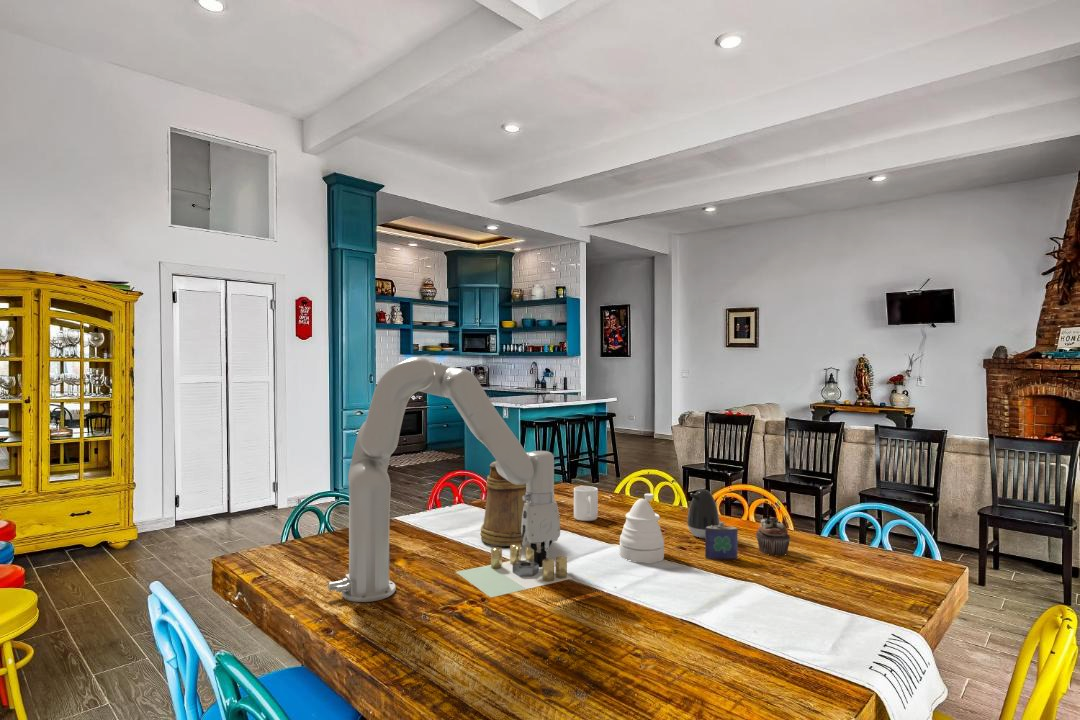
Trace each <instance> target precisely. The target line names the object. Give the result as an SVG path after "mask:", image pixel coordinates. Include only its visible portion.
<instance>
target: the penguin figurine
mask: <svg viewBox="0 0 1080 720" xmlns="http://www.w3.org/2000/svg"><path fill="white" fill-rule="evenodd" d="M689 496H690V497H692V500H691V502H690V504H689V508H688V513H687V521H686V522H687V523H686V524H687V526H688V531H690V533H691V534H692V535H693V536H694V537H697V538H698V537H699V538H698V539H705V528H706V527H708V526H711V525H712V526H714V525H715V526H714V527H716V526H718V525H720V522H721V521H720V516H719V514H720V513H719V510H718V506H717V504H716V503H717V502H716V501H715V499H714V496H713V494H712V493H711V492H710V491H709V490H708V489H705V488H704V489H698V490H697V491H696V492H695V493H693V492H691V493H689Z"/></svg>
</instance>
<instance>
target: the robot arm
mask: <svg viewBox="0 0 1080 720" xmlns="http://www.w3.org/2000/svg"><path fill="white" fill-rule="evenodd" d="M418 392H420V393H424V394H428V395H433V396H437V397H441V398H442V397H443V398H447V399H449V400H450V401H451V403H452V404H453V405H454V407H455V409H456V410H457V412H458V413H459V415H460V416H461V418H462V419H463V421H464V423H465V424H466V426H467V427H468V429H469V430H470V432H471V433H472V434H473V436H474V437H475V438H476V439H477V440H478V441H479V442H480V443H481V444H483V445H484V446H485V447H486V448H487V450H488V451H489V453H491V454H492V456H493V458H494V459H495V461H496V470H497V472H498V473H499V475H500V476H502V477H503V478H505V479H506V480H508V481H509V482H511V483H512V484H514V485H524V484H526V495H525V496H523V497H522V499H523V501H526V503H524V507H523V513H522V523H521V536H522V539H523V542H522V545H521V546H523V547H524V548H526V547H531V548H532V550H534V562H536V563H538V564H539V567H543V559H545V558H548V557H547V552H548V551H549V548H550V547H551V545H552V543H555V542H556V541H558V539H559V538H560V536H561V521H560V520H561V519H560V513H559V508H558V507H559V506H558V502H557V501H556V500H555V457H554V453H553V452H550V451H547V450H534V451H532V450H531V451H526V450H525V448H524V447H523V445H522V444H521V442H520V440H519V439H518V438H517V437H516V436H515V434H514V433H513V431H512V430H511V429H510V427H509V426H508V424H507V423H506V422H505V420H504V418H503V417H502V416H501V415H500V414H499V412H498V410H497V409H496V408H495V407H496V406H495V405H494V404H493V402H492V401H491V400H490V398H489V396H488V395H487V393H486V391H485V390H484V388H483V386H482V385H481V383H480V381H479V380H478V379H477V377H476V376H475V374H474V373H472V371H471V370H468V369H466V368H461V367H455V366H454V367H453V366H449V365H444V364H440V363H437V362H433V361H430V360H428V359H427V358H424V357H420V356H416V357H415V356H413V357H409V358H407V359H405V360H403V361H402V362H401V361H400V362H399V363H397V364H395V365H393V366H392V367H391V368H389V369H388V370H387V371H386V372H385V373H384V374H383V375H382V376H381V378H380V379H379V380H378V382H377V383H376V386H375V389H374V391H373V395H372V398H371V402H370V405H369V408H368V412H367V416H366V420H365V421H364V422H363V423H362V425H360V427H359V430H358V432H357V436H356V439H355V444H354V447H353V452H352V457H351V459H350V460H351V461H350V465H349V469H348V476H347V479H348V496H349V497H348V501H349V502H348V505H349V506H348V573H346V574H345V575H344V576H345V578H342V579H341V580H338V581H337V580H336V581H331V582H330V581H329V582H328V585H327V586H328V591H329V592H331V591H336V592H337V593H339V592H342V593H341V595H342V598H344V599H345V600H346V601H349V602H353V603H356V602H357V603H369V602H371V603H372V602H377V601H381V600H385V599H386V598H389V597H390V596H392V595H393V594H394V593H395V592H396V589H397V588H396V584H395V582H393V581H392V580H390V509H391V507H390V505H391V488H392V487H391V478H390V475H389V473H388V468H389V463H390V462H391V461H390V460H391V456H392V455H393V453H394V452H395V451H396V449H397V447H398V444H399V439H400V434H401V429H402V424H403V419H404V416H405V413H406V408H407V405H408V403H409V401H410V398H411V397H412V396H413V395H414V394H416V393H418Z"/></svg>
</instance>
